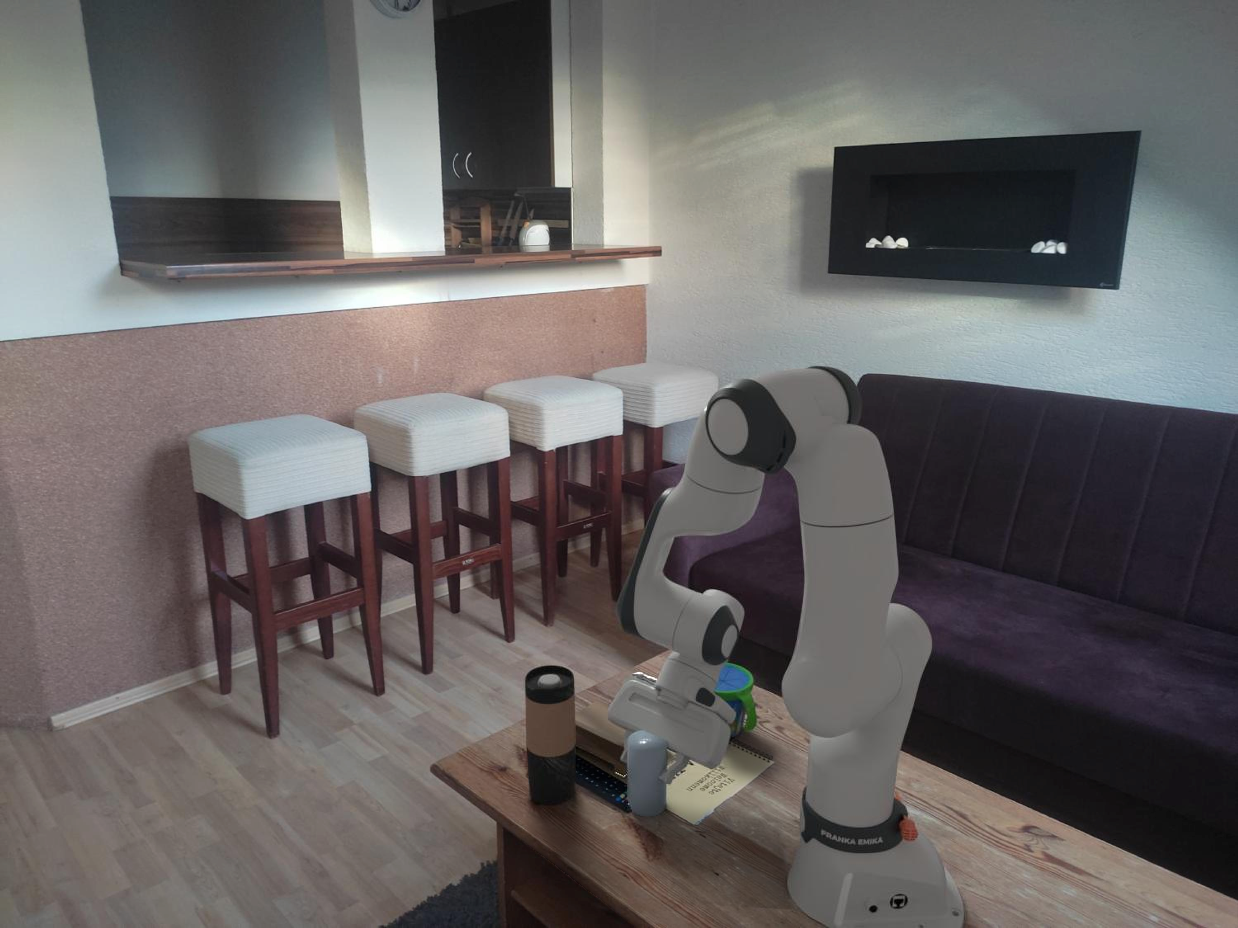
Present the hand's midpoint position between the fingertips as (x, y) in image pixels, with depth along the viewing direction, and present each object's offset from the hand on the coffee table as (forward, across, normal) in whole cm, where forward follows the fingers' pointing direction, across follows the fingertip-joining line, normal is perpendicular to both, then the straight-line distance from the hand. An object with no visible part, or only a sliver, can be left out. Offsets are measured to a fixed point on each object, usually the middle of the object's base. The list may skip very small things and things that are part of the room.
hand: (644, 772), depth 135 cm
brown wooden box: (-2, -14, +10) cm, 18 cm away
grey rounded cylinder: (+4, 0, +5) cm, 6 cm away
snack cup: (-14, -3, +22) cm, 26 cm away
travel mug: (+9, -13, 0) cm, 16 cm away
